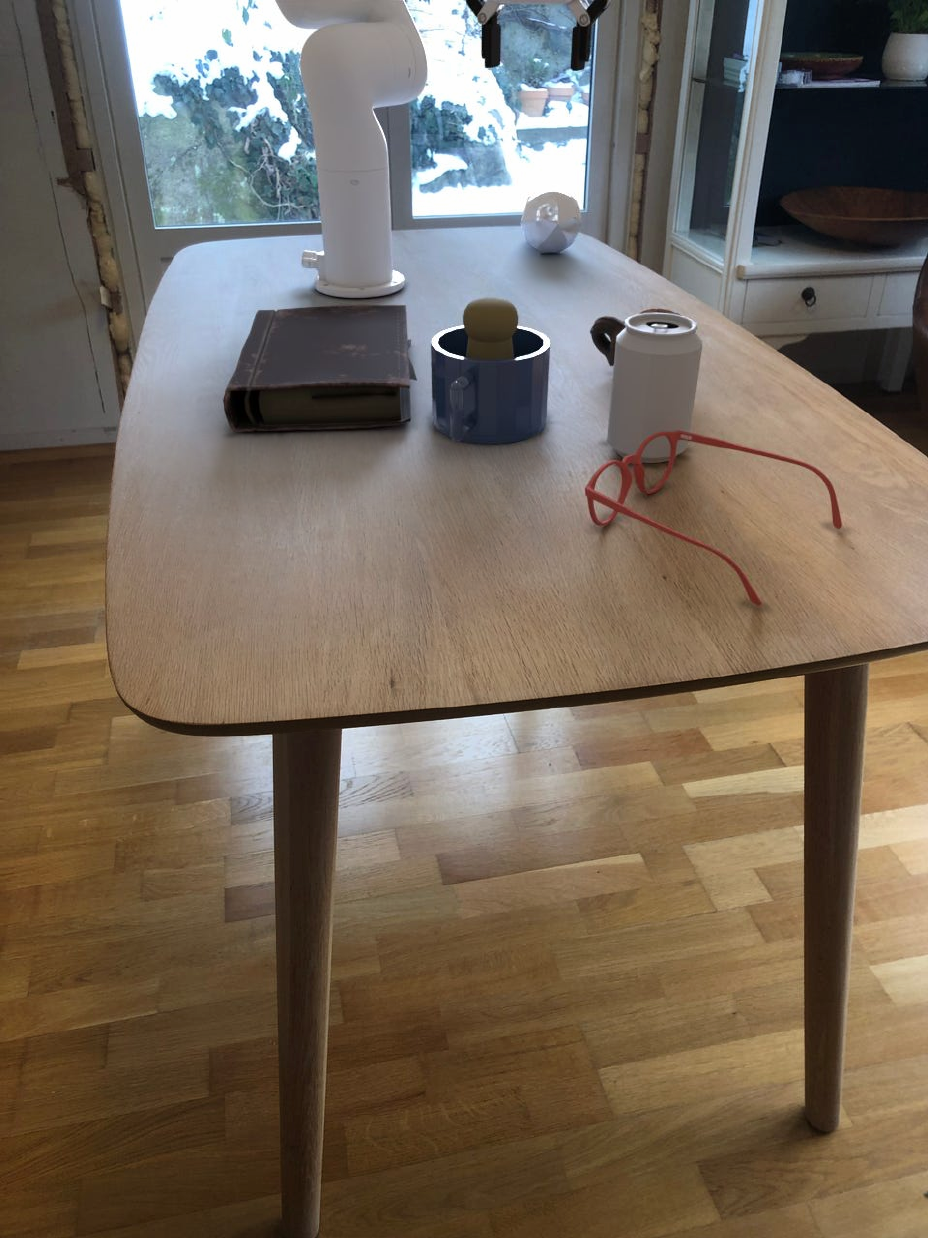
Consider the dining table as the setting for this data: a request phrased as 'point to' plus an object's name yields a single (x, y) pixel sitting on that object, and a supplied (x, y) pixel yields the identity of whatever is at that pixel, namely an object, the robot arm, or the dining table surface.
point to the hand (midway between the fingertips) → (534, 68)
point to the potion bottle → (551, 220)
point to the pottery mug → (612, 333)
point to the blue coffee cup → (490, 389)
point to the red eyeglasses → (640, 474)
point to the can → (653, 384)
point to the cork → (490, 328)
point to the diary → (322, 370)
